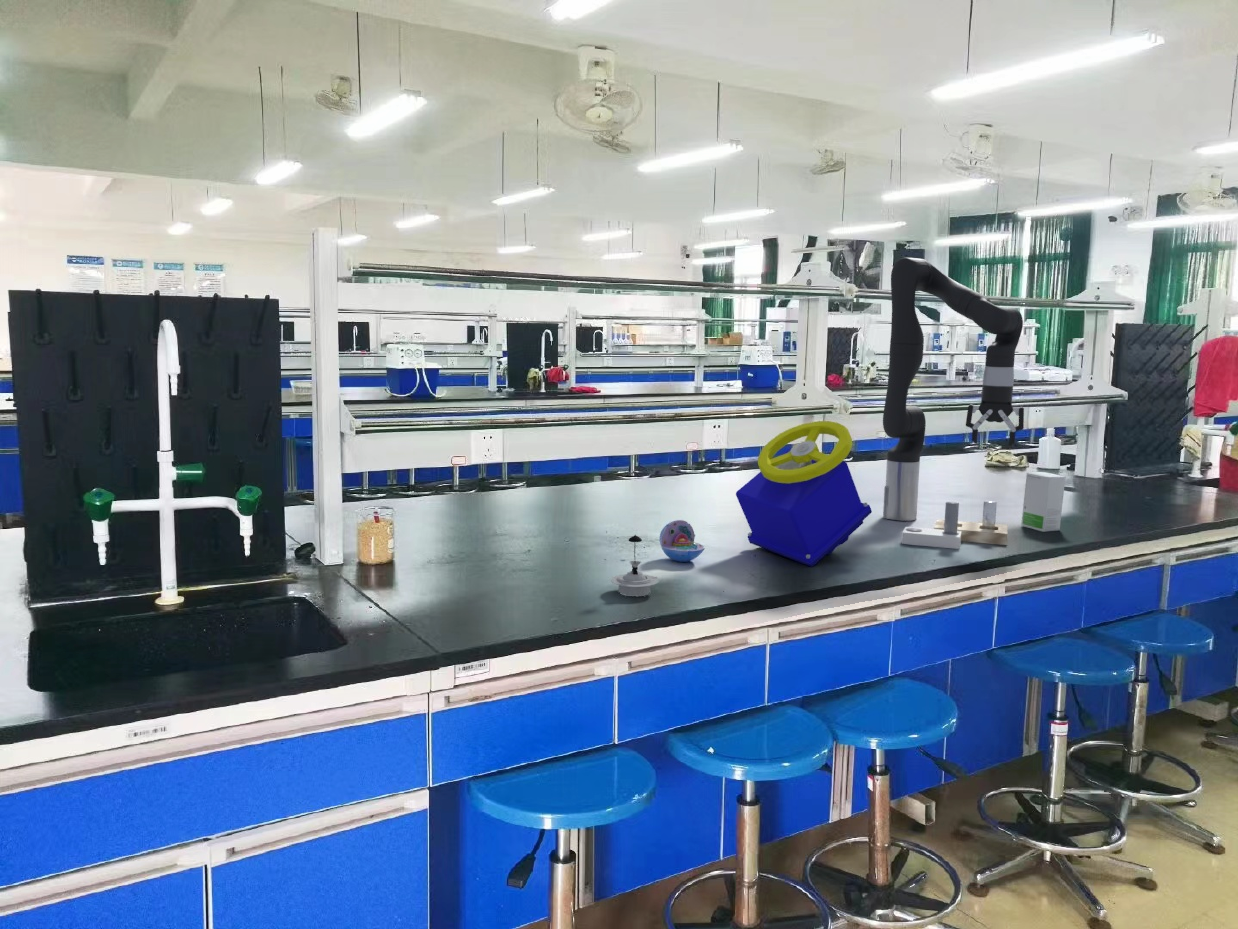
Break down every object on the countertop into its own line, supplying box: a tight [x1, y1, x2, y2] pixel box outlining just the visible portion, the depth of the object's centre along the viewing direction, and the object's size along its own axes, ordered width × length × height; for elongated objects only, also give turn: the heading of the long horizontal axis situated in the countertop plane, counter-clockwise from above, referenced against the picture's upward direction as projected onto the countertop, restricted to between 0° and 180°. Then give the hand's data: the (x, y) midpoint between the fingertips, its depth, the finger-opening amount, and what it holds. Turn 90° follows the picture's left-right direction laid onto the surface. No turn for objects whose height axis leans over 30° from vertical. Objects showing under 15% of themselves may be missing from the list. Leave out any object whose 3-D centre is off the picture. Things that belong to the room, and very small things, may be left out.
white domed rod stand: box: [610, 534, 660, 595], centre depth 186 cm, size 12×10×10 cm
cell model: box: [658, 519, 705, 563], centre depth 213 cm, size 10×12×10 cm
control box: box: [735, 420, 873, 568], centre depth 217 cm, size 26×27×30 cm
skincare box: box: [1020, 471, 1066, 533], centre depth 253 cm, size 8×7×16 cm
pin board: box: [933, 519, 1008, 546], centre depth 242 cm, size 18×12×3 cm, turn 67°
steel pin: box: [981, 500, 998, 530], centre depth 240 cm, size 3×3×10 cm
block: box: [901, 501, 962, 550], centre depth 234 cm, size 14×8×11 cm, turn 67°
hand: (992, 444), depth 241 cm, fingers open, 8 cm apart
